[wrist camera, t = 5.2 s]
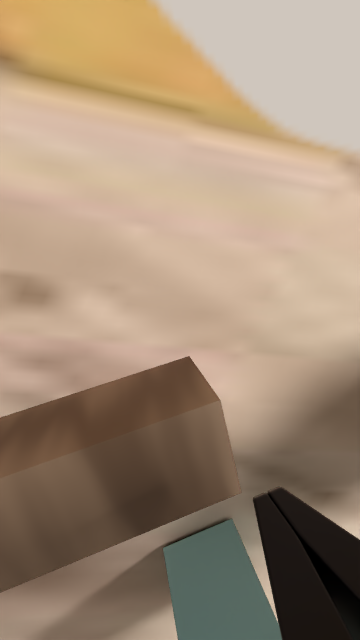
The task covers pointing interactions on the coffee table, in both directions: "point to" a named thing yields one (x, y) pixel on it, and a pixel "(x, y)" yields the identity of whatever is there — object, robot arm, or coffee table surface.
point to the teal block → (217, 588)
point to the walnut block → (109, 467)
